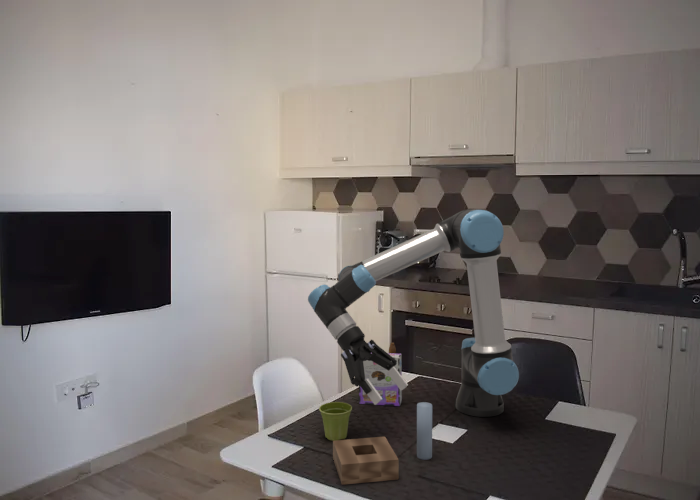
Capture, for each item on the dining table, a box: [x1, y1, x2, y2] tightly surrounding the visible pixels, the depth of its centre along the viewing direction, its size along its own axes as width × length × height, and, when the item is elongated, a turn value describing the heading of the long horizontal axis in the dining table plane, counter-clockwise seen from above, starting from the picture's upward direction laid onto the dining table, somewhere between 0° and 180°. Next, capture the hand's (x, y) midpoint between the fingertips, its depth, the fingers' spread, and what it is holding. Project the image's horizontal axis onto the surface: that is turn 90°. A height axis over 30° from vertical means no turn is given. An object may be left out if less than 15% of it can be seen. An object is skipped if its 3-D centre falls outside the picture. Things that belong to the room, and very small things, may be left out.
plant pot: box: [318, 401, 353, 442], centre depth 168 cm, size 9×9×9 cm
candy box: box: [358, 352, 403, 407], centre depth 196 cm, size 14×6×16 cm, turn 77°
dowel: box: [416, 401, 433, 461], centre depth 155 cm, size 4×4×14 cm
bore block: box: [332, 436, 400, 486], centre depth 148 cm, size 14×14×5 cm
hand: (392, 394), depth 159 cm, fingers open, 13 cm apart
